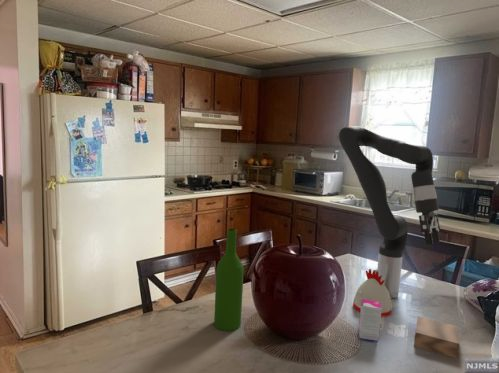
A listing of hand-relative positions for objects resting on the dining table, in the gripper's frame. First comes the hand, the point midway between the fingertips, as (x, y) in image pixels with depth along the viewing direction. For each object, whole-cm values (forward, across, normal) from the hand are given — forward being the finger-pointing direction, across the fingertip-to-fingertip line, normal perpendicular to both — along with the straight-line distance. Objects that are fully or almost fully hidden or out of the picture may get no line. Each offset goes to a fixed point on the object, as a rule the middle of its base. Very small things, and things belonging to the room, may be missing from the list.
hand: (433, 243), depth 133 cm
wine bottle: (+19, +55, -52) cm, 78 cm away
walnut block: (+31, +14, 0) cm, 34 cm away
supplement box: (+27, +27, -17) cm, 42 cm away
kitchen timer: (+23, +6, -24) cm, 34 cm away
